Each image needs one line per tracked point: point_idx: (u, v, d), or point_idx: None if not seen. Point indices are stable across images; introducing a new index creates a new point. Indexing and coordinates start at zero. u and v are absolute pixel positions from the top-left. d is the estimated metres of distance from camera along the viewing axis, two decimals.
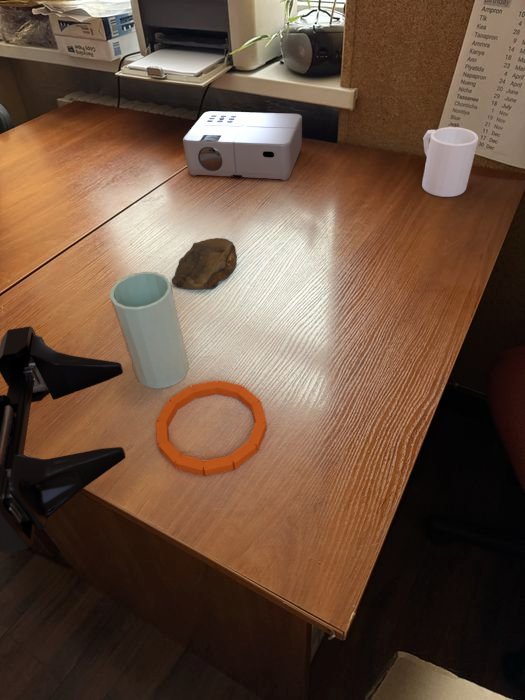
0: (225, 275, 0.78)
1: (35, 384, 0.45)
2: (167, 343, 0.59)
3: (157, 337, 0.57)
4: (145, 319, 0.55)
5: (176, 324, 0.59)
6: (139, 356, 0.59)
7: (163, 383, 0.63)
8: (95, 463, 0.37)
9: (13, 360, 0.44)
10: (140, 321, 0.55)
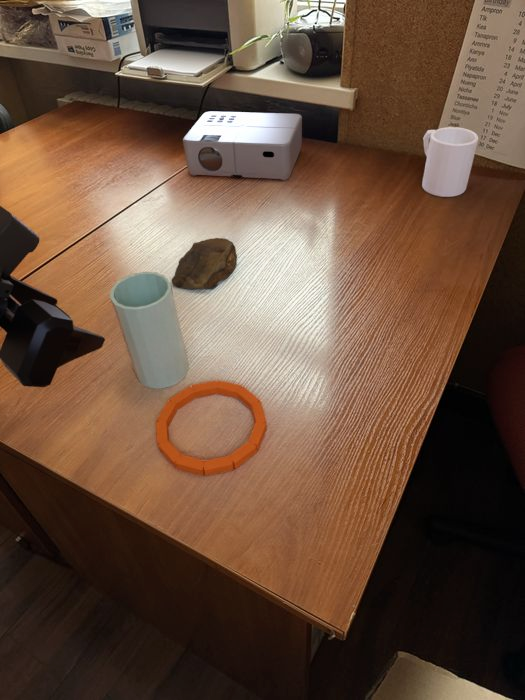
0: (225, 275, 0.78)
1: None
2: (167, 343, 0.59)
3: (157, 337, 0.57)
4: (145, 319, 0.55)
5: (176, 324, 0.59)
6: (139, 356, 0.59)
7: (163, 383, 0.63)
8: (91, 339, 0.47)
9: None
10: (140, 321, 0.55)
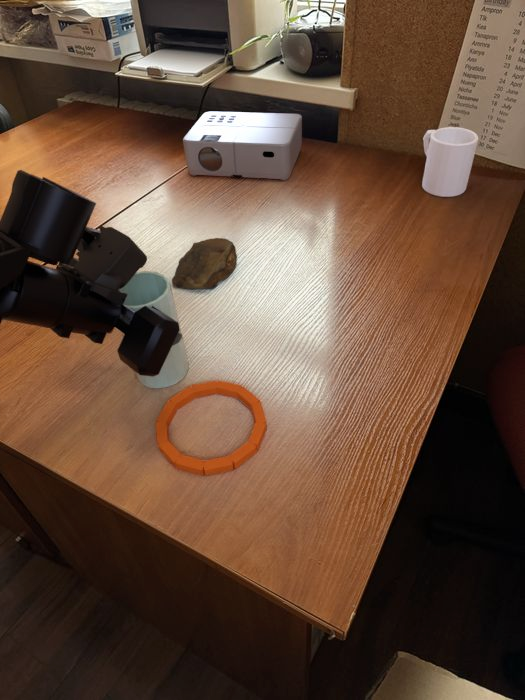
0: (225, 275, 0.78)
1: None
2: None
3: None
4: None
5: None
6: None
7: (163, 383, 0.62)
8: None
9: None
10: None
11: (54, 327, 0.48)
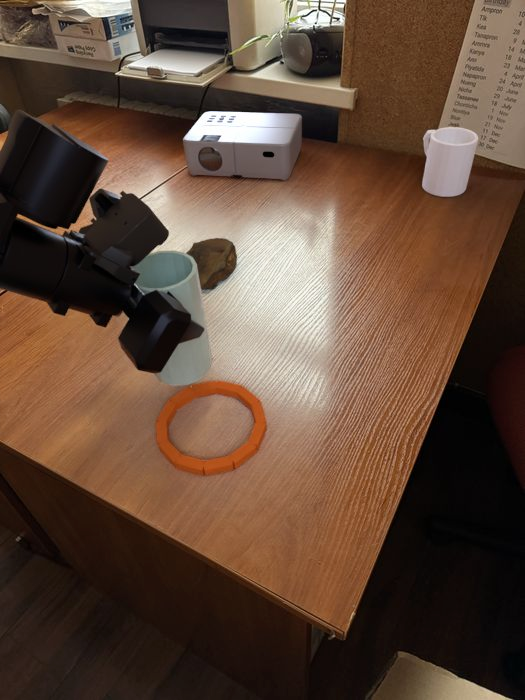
0: (225, 275, 0.78)
1: None
2: None
3: None
4: None
5: (198, 315, 0.51)
6: None
7: (179, 381, 0.55)
8: (193, 328, 0.49)
9: None
10: None
11: (48, 301, 0.41)
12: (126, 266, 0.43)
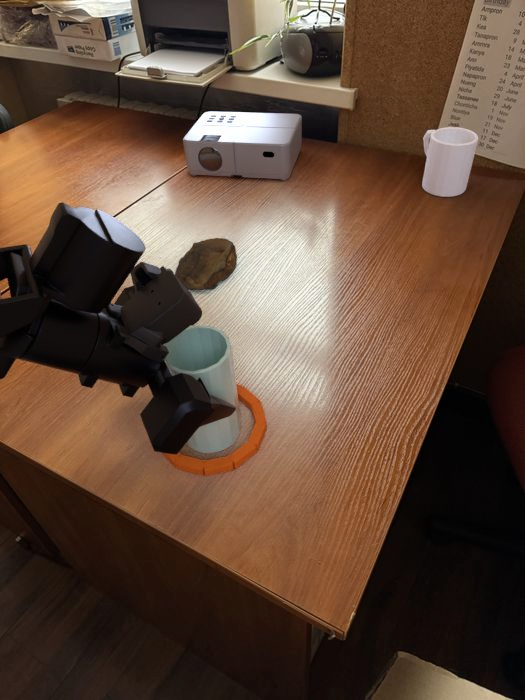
0: (225, 275, 0.78)
1: None
2: None
3: None
4: None
5: (228, 393, 0.51)
6: None
7: (204, 449, 0.55)
8: (224, 409, 0.48)
9: None
10: None
11: None
12: (155, 345, 0.43)
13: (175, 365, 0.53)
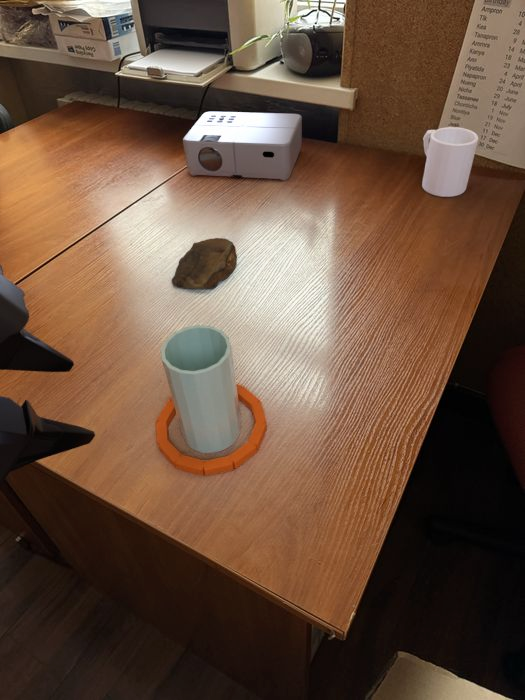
0: (225, 275, 0.78)
1: None
2: (212, 412, 0.51)
3: (201, 404, 0.50)
4: (188, 385, 0.48)
5: (228, 393, 0.51)
6: (181, 416, 0.52)
7: (204, 449, 0.55)
8: (73, 437, 0.39)
9: None
10: (184, 385, 0.48)
11: None
12: None
13: (175, 365, 0.53)
